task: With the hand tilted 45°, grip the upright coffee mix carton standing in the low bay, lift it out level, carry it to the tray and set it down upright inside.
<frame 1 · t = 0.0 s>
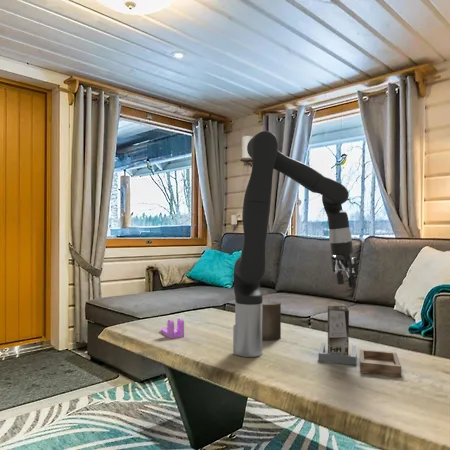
hand: (346, 285, 144), 22 cm above the table, tool pointing down, fingers open, 8 cm apart
tray: (378, 366, 124), on the table
pillar candle: (268, 337, 158), on the table
coffee box: (337, 356, 135), resting in bay
bay: (337, 356, 135), on the table
bracket: (171, 334, 162), on the table
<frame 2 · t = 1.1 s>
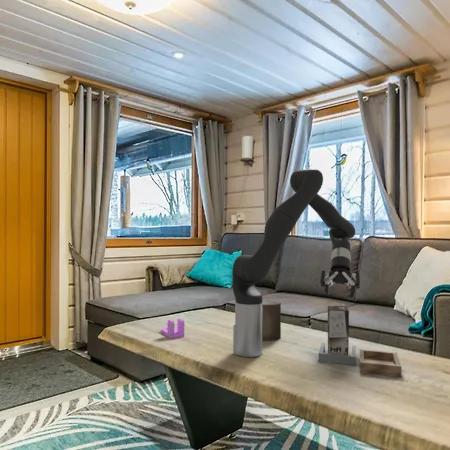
hand: (339, 295, 148), 18 cm above the table, tool tilted 45°, fingers open, 8 cm apart
nothing on the table moved.
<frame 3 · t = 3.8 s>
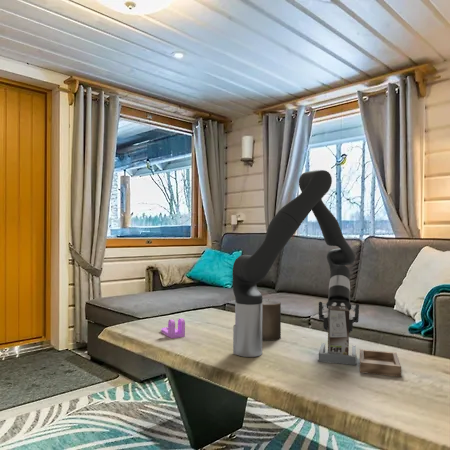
hand: (337, 330, 135), 8 cm above the table, tool tilted 45°, fingers closed on coffee box, 7 cm apart
coffee box: (337, 356, 135), resting in bay, touching gripper
everything else where it was.
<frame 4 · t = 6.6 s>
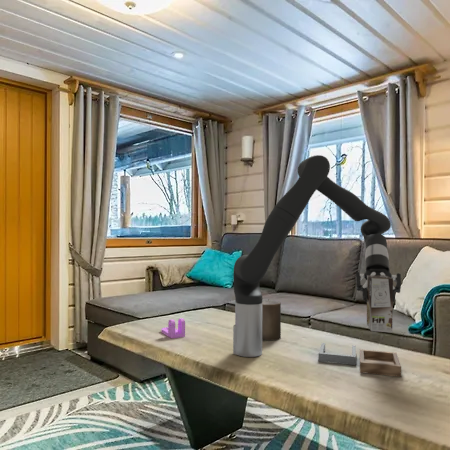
hand: (378, 300, 125), 20 cm above the table, tool tilted 45°, fingers closed on coffee box, 7 cm apart
coffee box: (379, 329, 125), point 12 cm above the table, touching gripper
everything else where it was.
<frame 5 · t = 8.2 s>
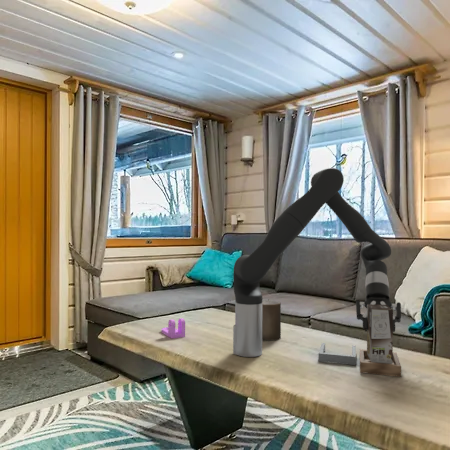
hand: (379, 331, 125), 11 cm above the table, tool tilted 45°, fingers closed on coffee box, 7 cm apart
coffee box: (379, 359, 124), point 2 cm above the table, touching gripper
everything else where it was.
when the fingers open (10 cm above the table, at t = 9.5 s): coffee box stays where it is, resting on tray.
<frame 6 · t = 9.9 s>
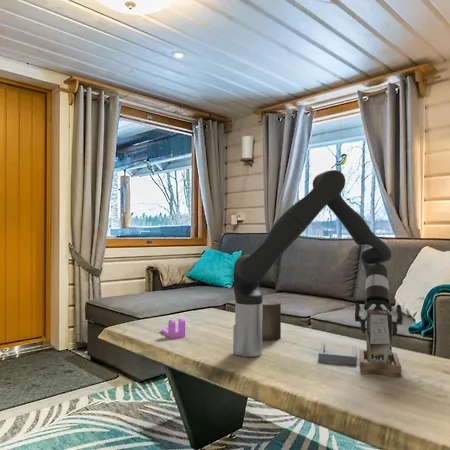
hand: (378, 333, 125), 10 cm above the table, tool tilted 45°, fingers open, 8 cm apart
coffee box: (378, 364, 125), point 1 cm above the table, touching tray
everything else where it was.
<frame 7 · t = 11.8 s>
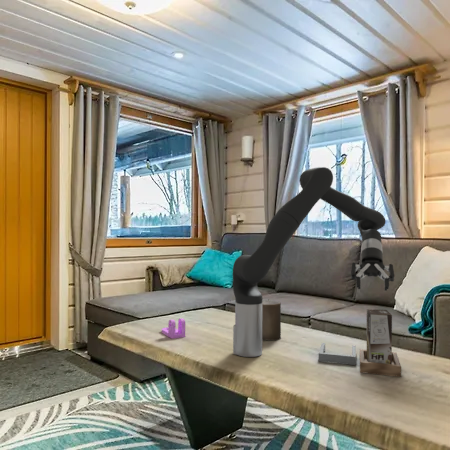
hand: (372, 288, 138), 22 cm above the table, tool tilted 45°, fingers open, 8 cm apart
nothing on the table moved.
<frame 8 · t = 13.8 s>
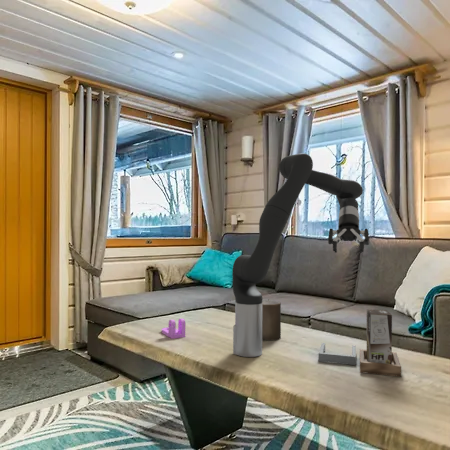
hand: (348, 251, 144), 35 cm above the table, tool tilted 45°, fingers open, 8 cm apart
nothing on the table moved.
at the end: coffee box inside the target area on the tray (0.3 cm from its centre), point 0.6 cm above the tray's base; coffee box tilted 0°; the gripper is holding nothing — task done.
